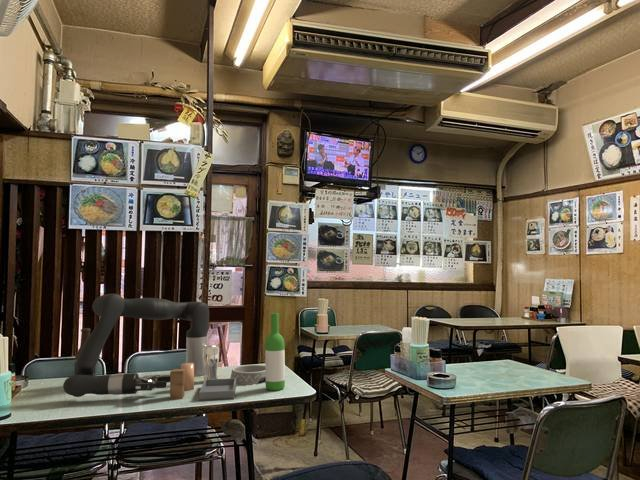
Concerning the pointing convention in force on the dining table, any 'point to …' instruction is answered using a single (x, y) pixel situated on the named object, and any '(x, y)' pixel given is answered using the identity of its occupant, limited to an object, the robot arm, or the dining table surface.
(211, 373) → the beer glass
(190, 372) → the terracotta jar
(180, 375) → the walnut block
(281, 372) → the wine bottle
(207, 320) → the robot arm
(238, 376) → the dog bowl
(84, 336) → the beer bottle
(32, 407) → the dining table surface
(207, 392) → the tote
